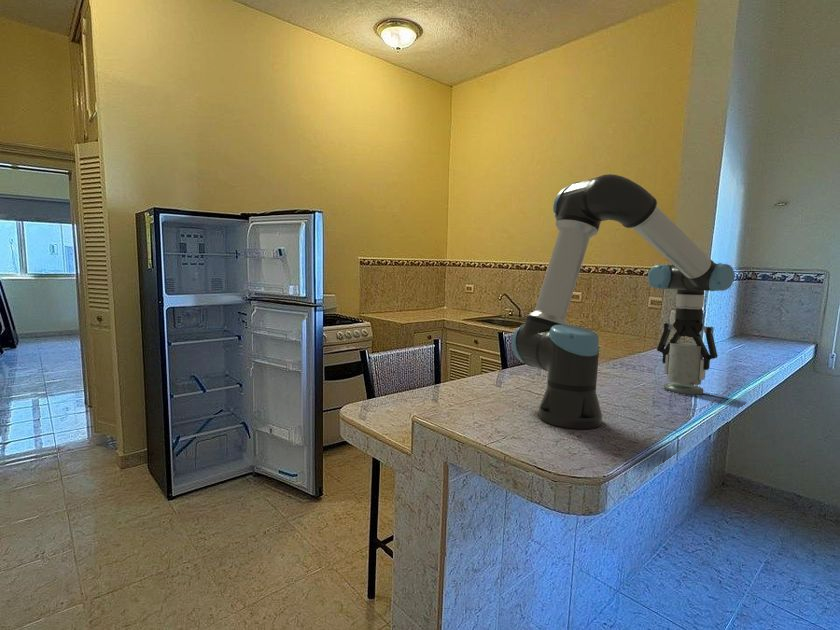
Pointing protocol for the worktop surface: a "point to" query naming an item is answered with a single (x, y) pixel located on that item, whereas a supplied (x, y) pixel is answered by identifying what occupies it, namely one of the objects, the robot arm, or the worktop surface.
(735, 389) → the worktop surface
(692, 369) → the grey marble cylinder
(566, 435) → the worktop surface
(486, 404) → the worktop surface
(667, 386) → the pad
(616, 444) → the worktop surface
